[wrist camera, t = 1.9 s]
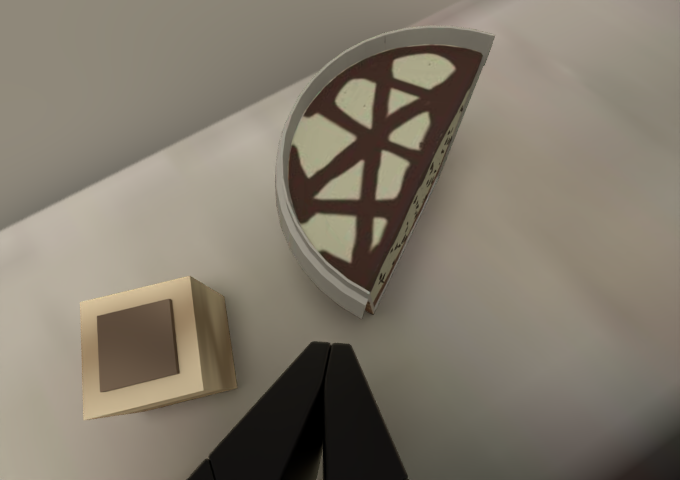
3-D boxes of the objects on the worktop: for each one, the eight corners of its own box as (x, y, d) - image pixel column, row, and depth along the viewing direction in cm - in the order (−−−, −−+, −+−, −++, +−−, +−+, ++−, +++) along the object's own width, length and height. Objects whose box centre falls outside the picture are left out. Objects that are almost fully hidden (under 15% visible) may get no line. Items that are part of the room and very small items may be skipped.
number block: (237, 387, 22) (200, 390, 17) (144, 411, 22) (78, 421, 17) (224, 296, 23) (187, 274, 18) (137, 318, 23) (75, 301, 18)
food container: (359, 121, 27) (357, -22, 17) (448, 156, 25) (500, 24, 16) (263, 290, 23) (196, 228, 14) (361, 339, 22) (361, 309, 13)
